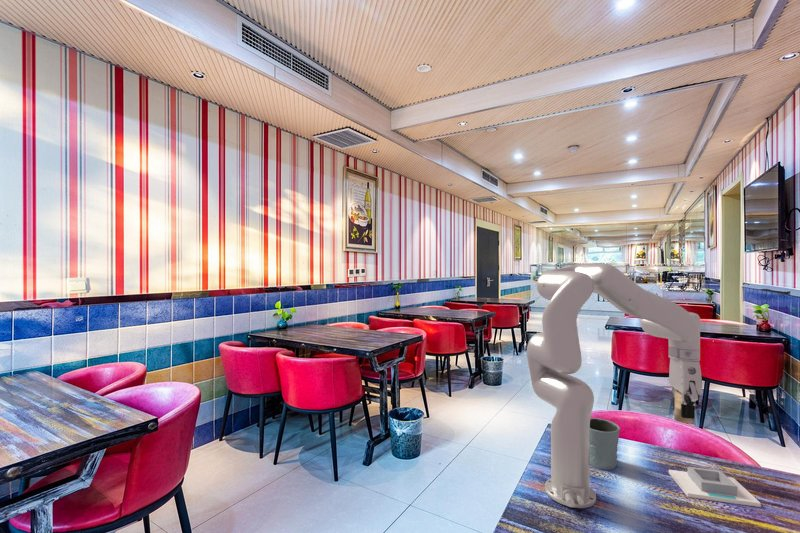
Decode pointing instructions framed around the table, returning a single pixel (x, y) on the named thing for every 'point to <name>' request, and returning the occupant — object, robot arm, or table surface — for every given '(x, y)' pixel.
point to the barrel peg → (678, 409)
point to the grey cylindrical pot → (603, 443)
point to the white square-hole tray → (712, 486)
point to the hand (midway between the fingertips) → (683, 413)
